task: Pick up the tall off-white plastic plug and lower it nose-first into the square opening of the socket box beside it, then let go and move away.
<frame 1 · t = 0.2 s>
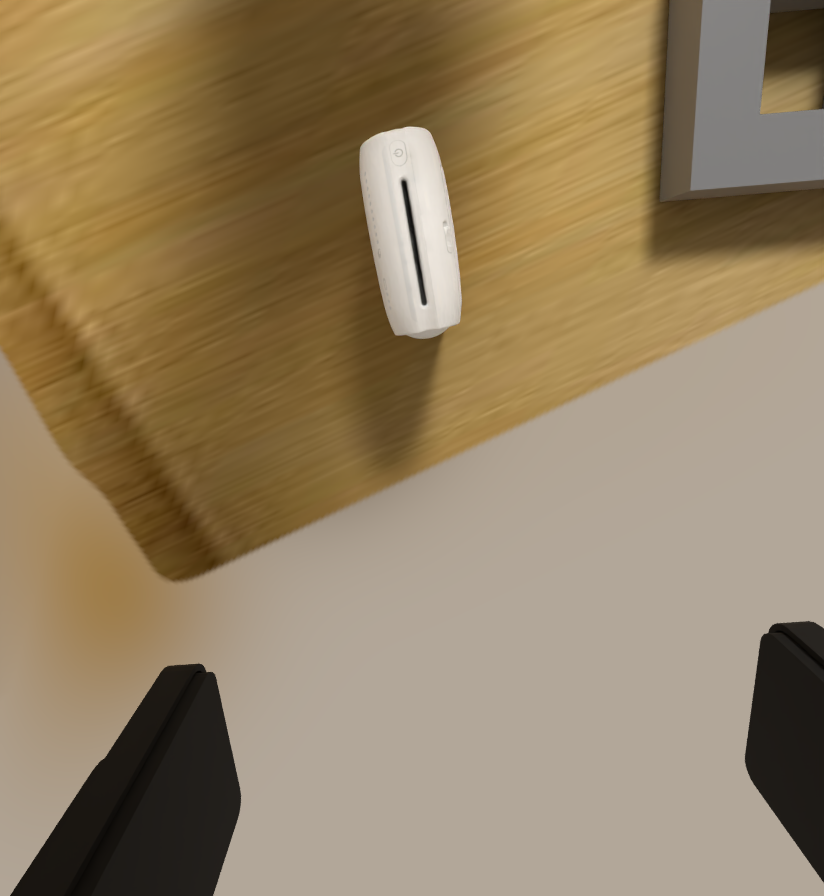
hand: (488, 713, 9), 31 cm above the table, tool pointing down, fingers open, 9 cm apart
socket box: (775, 72, 33), on the table
photo printer: (410, 254, 36), on the table
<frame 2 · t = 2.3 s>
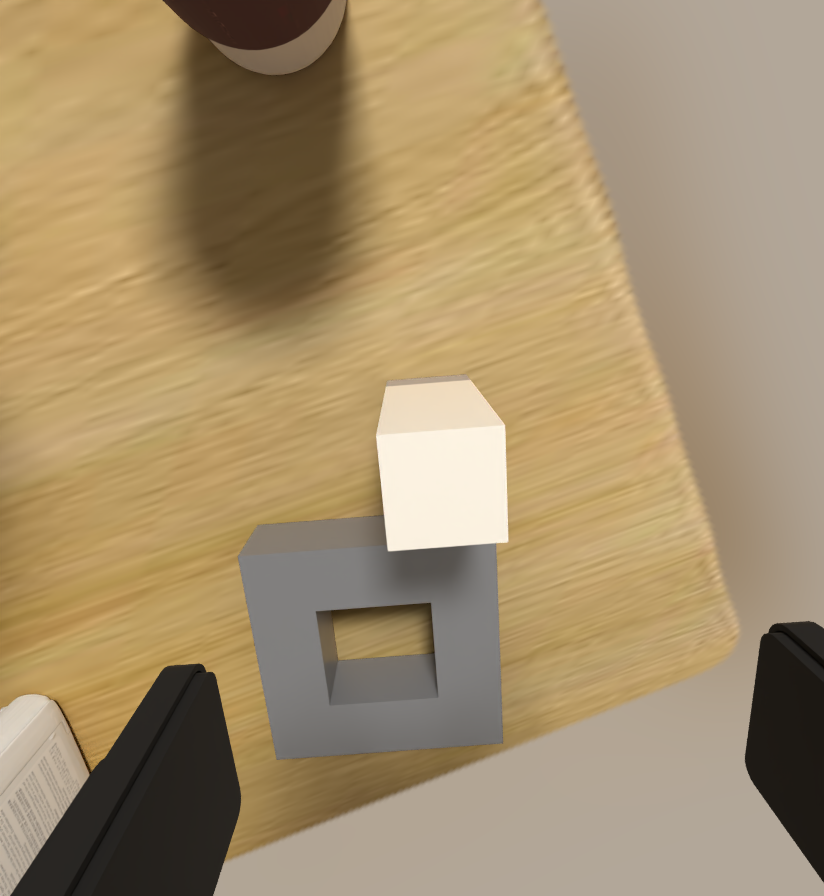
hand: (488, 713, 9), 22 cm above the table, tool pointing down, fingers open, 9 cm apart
socket box: (381, 614, 34), on the table
plug: (429, 415, 30), on the table
photo printer: (57, 747, 37), on the table
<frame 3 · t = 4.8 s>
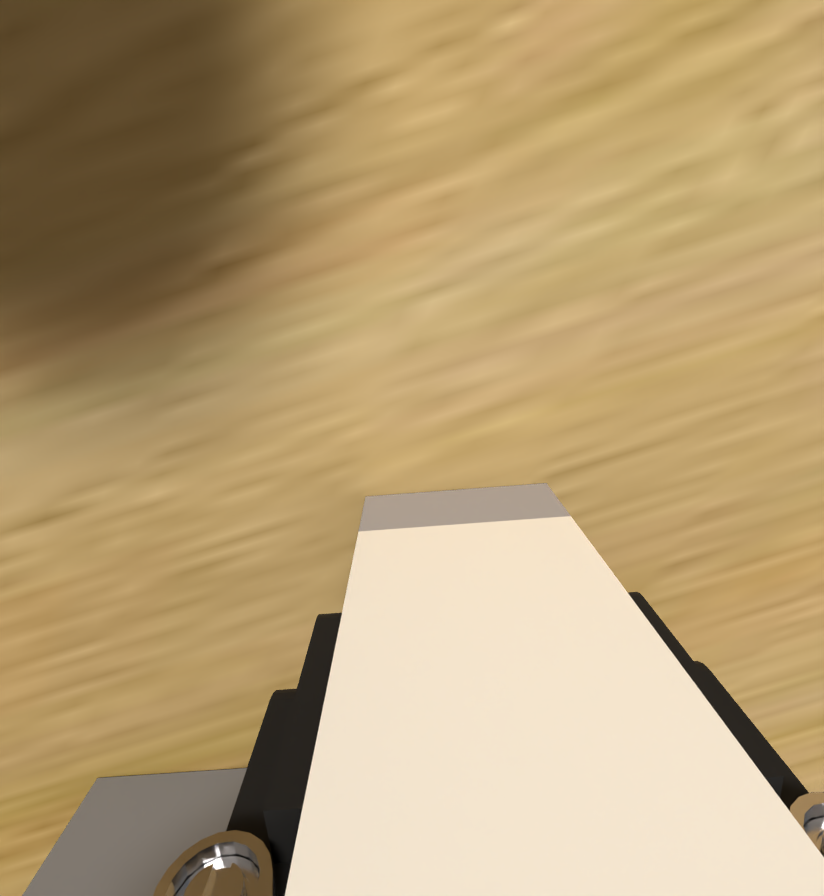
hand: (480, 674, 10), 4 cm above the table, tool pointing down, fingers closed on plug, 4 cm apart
plug: (460, 570, 14), on the table, touching gripper
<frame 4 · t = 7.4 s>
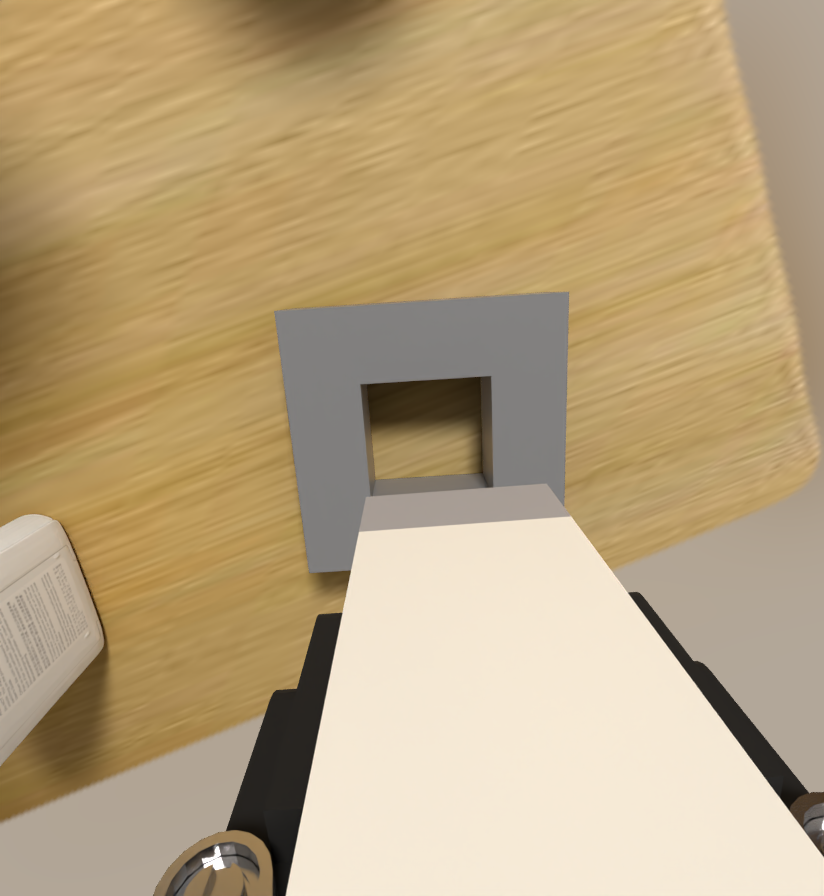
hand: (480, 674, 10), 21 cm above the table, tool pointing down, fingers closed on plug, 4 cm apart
socket box: (426, 424, 31), on the table
plug: (460, 570, 14), point 18 cm above the table, touching gripper
photo printer: (60, 582, 33), on the table
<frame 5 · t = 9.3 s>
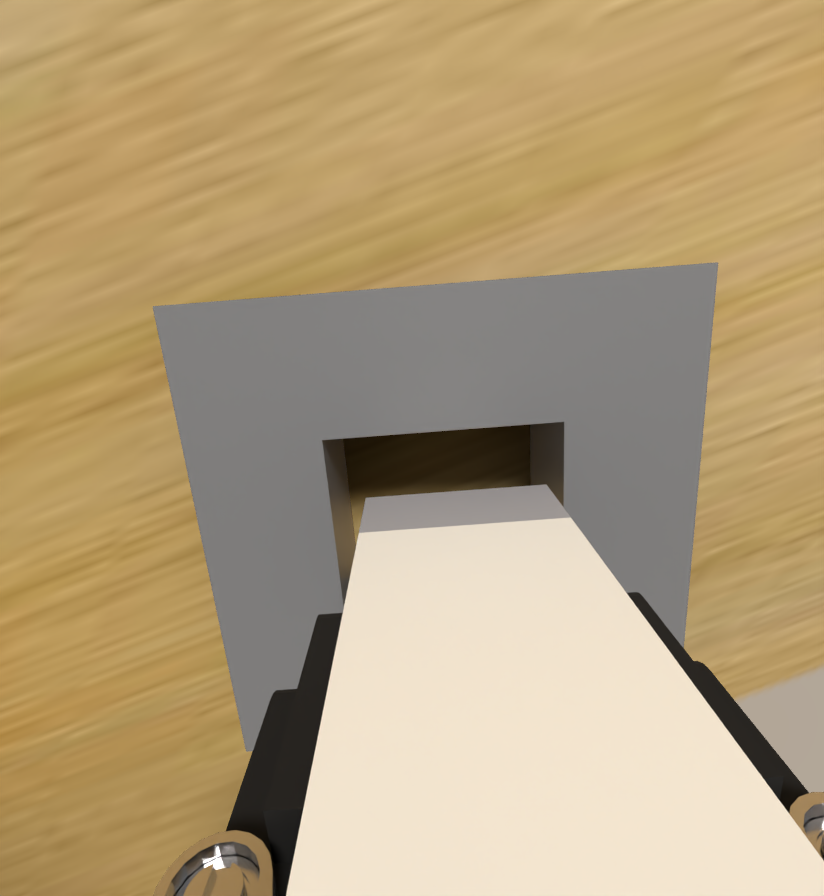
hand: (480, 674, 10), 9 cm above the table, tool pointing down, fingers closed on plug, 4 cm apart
socket box: (440, 489, 19), on the table
plug: (460, 571, 14), point 5 cm above the table, touching gripper
when the fingers open (5 cm above the table, at t = 10.4 s): plug drops 1 cm, resting in socket box.
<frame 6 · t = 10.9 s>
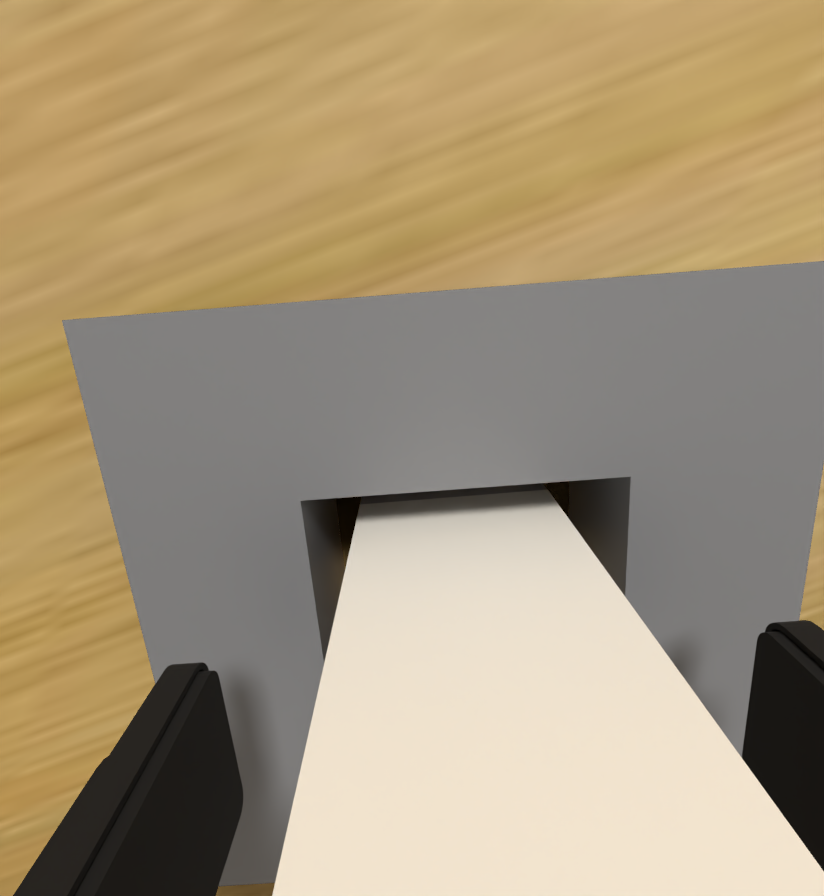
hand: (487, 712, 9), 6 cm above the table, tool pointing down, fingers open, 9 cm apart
socket box: (455, 544, 15), on the table
plug: (452, 543, 15), resting in socket box
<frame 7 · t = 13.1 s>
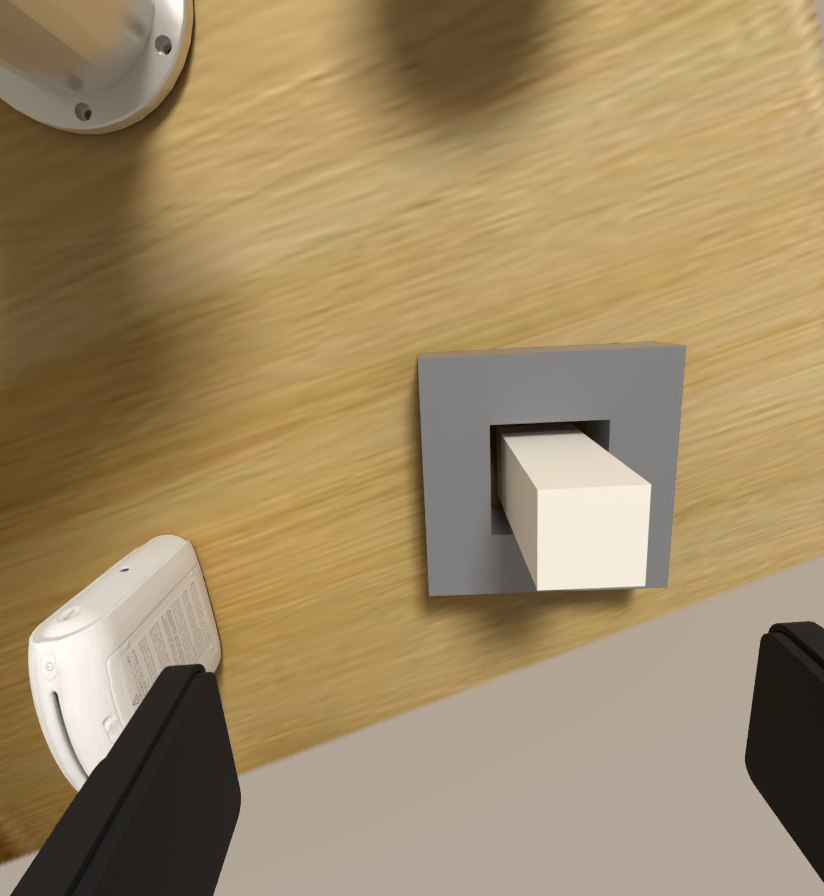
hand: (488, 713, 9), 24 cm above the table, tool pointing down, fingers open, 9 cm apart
socket box: (534, 459, 33), on the table
plug: (532, 459, 33), resting in socket box
photo printer: (184, 598, 36), on the table
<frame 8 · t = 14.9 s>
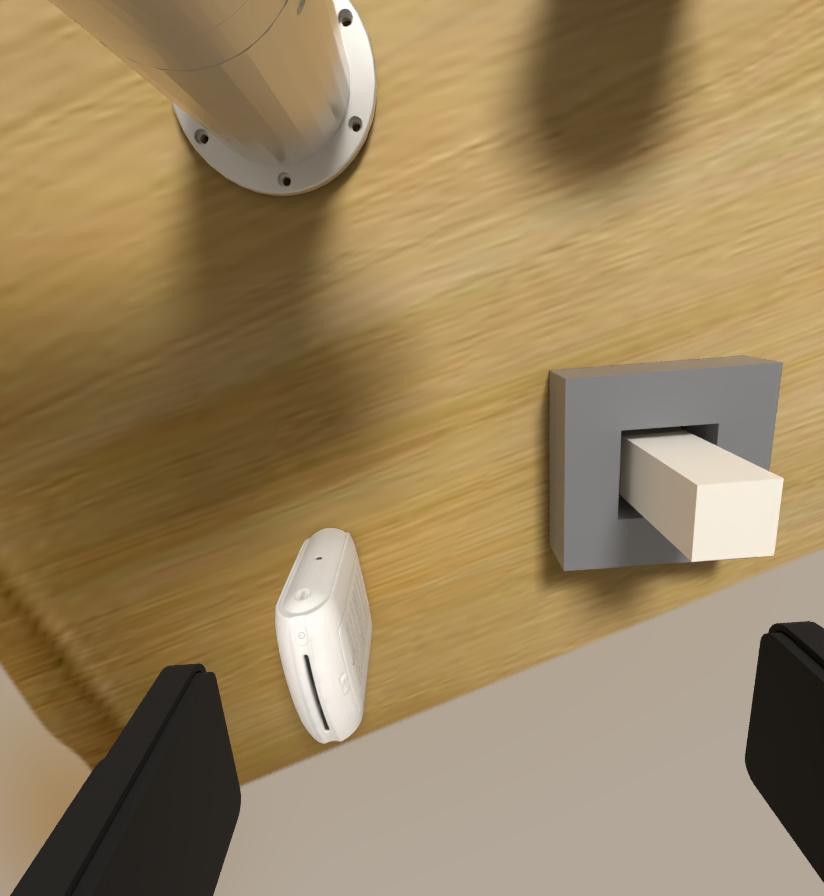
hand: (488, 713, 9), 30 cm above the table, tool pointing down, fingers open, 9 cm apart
socket box: (641, 455, 40), on the table
plug: (640, 455, 40), resting in socket box
photo printer: (340, 581, 43), on the table
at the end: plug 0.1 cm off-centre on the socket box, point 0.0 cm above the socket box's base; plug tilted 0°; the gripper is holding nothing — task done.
